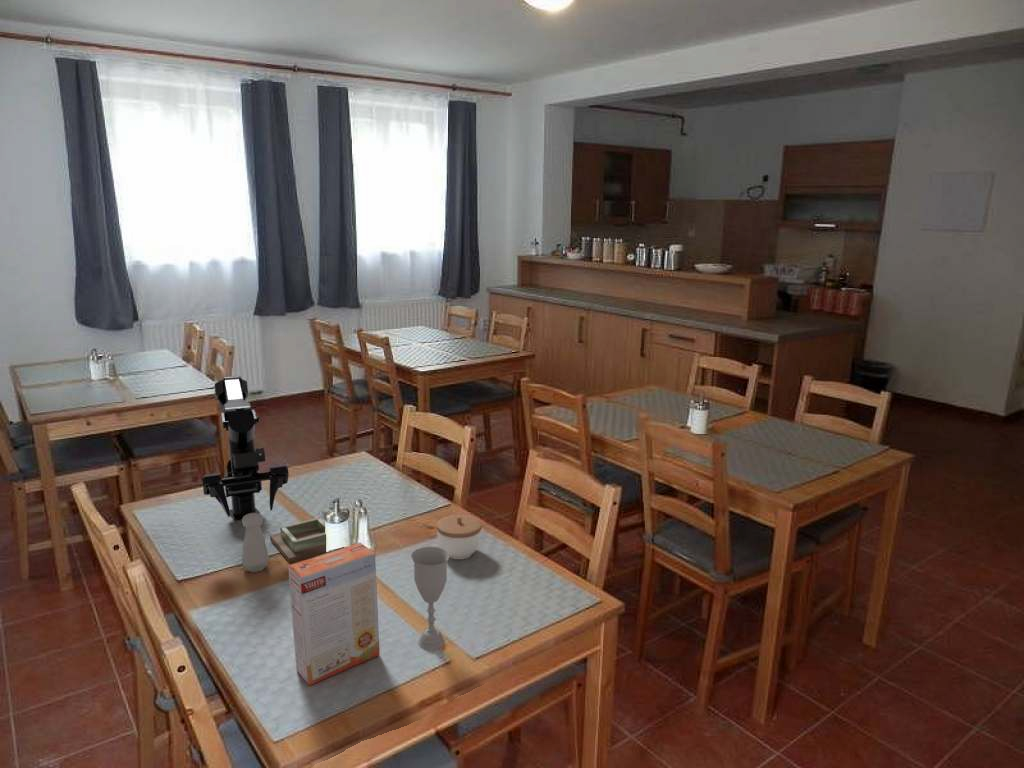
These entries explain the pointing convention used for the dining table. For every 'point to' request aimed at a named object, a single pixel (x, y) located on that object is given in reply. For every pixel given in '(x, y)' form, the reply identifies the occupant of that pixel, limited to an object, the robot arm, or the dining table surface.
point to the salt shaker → (254, 544)
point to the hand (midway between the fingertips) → (250, 513)
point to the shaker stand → (301, 539)
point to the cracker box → (334, 611)
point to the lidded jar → (459, 535)
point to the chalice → (430, 588)
